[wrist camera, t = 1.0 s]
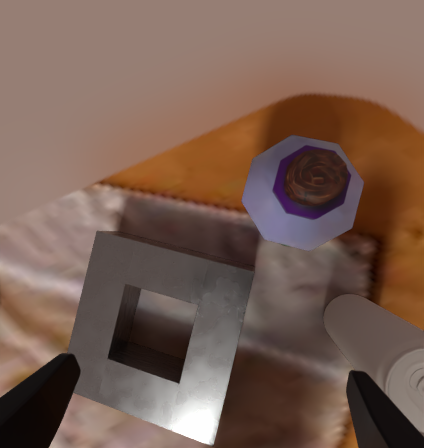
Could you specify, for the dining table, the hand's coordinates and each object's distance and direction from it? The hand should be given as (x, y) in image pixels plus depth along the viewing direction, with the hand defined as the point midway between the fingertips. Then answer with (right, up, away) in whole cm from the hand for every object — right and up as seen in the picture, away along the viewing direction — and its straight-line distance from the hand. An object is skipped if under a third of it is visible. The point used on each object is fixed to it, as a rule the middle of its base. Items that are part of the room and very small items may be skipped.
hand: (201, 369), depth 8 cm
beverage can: (+13, -4, +16) cm, 21 cm away
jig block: (-4, -5, +19) cm, 20 cm away
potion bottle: (+8, +7, +18) cm, 20 cm away
